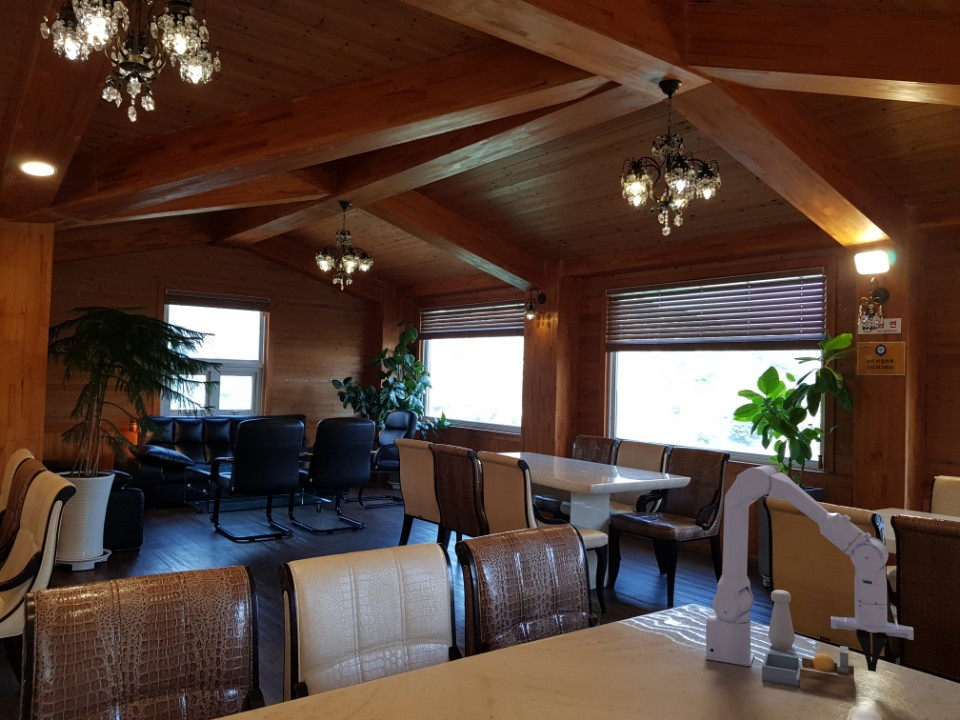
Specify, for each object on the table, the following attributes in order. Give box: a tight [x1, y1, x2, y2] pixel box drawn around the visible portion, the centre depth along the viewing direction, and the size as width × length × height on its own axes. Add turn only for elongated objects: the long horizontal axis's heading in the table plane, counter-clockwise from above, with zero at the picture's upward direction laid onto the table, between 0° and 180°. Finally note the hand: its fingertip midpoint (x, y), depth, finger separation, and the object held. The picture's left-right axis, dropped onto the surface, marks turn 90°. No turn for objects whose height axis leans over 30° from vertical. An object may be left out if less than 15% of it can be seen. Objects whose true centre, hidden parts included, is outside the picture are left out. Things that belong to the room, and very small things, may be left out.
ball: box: [813, 652, 835, 672], centre depth 148 cm, size 4×4×4 cm
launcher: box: [799, 656, 856, 699], centre depth 147 cm, size 10×10×4 cm
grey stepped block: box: [836, 645, 849, 675], centre depth 146 cm, size 2×5×5 cm, turn 153°
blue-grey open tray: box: [761, 652, 802, 688], centre depth 151 cm, size 7×9×3 cm
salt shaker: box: [767, 589, 796, 651], centre depth 169 cm, size 6×6×13 cm
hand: (871, 669), depth 144 cm, fingers closed
